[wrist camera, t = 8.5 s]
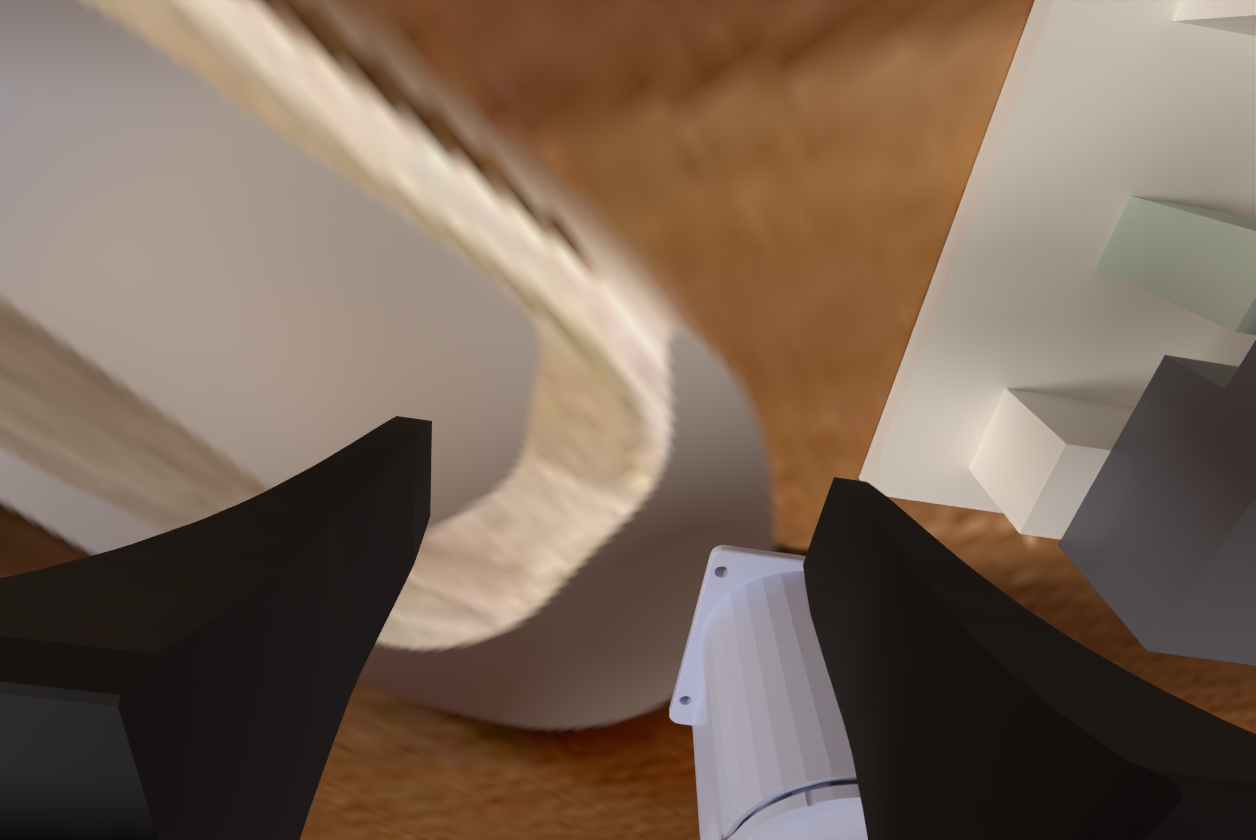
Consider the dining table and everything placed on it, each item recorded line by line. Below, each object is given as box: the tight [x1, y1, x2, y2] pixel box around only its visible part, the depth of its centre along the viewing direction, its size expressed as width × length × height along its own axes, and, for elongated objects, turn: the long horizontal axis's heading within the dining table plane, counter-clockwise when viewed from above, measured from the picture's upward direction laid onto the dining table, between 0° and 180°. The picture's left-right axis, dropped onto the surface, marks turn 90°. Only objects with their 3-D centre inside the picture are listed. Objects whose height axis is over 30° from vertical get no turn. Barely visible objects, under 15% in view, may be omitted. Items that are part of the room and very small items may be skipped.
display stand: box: [859, 0, 1256, 540], centre depth 17 cm, size 19×11×6 cm, turn 171°
